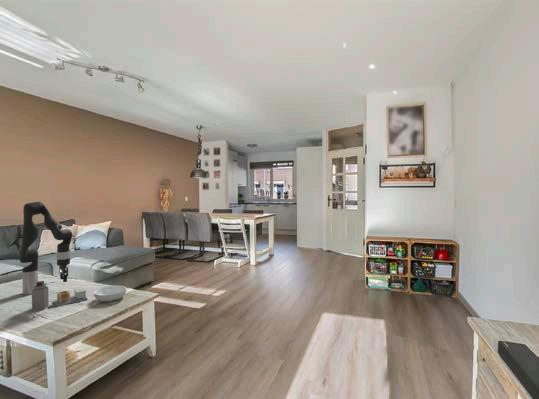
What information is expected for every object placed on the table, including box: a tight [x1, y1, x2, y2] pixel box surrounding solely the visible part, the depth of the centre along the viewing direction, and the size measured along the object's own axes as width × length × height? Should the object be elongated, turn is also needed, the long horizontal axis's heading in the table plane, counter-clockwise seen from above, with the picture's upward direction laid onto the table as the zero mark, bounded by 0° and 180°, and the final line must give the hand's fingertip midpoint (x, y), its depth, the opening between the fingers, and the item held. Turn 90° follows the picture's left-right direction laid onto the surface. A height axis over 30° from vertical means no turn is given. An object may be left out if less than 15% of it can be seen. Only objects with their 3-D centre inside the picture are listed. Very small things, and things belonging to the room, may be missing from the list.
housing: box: [73, 287, 87, 299], centre depth 203 cm, size 9×6×5 cm, turn 48°
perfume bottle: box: [31, 280, 49, 312], centre depth 186 cm, size 7×7×18 cm
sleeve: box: [56, 289, 71, 303], centre depth 196 cm, size 6×6×6 cm
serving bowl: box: [93, 285, 128, 302], centre depth 203 cm, size 21×21×7 cm
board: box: [52, 295, 88, 308], centre depth 199 cm, size 12×18×6 cm, turn 138°
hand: (63, 280), depth 196 cm, fingers open, 8 cm apart
